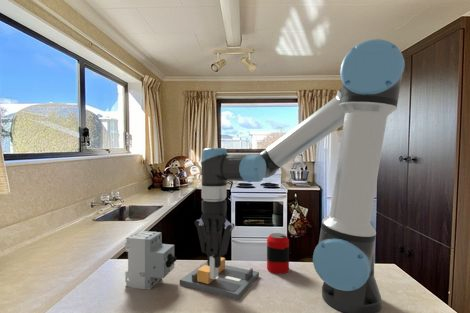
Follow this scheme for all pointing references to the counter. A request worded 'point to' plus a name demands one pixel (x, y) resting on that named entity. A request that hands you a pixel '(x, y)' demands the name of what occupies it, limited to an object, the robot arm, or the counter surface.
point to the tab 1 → (204, 274)
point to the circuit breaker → (147, 259)
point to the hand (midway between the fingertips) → (214, 276)
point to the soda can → (278, 253)
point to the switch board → (224, 281)
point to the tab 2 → (221, 265)
